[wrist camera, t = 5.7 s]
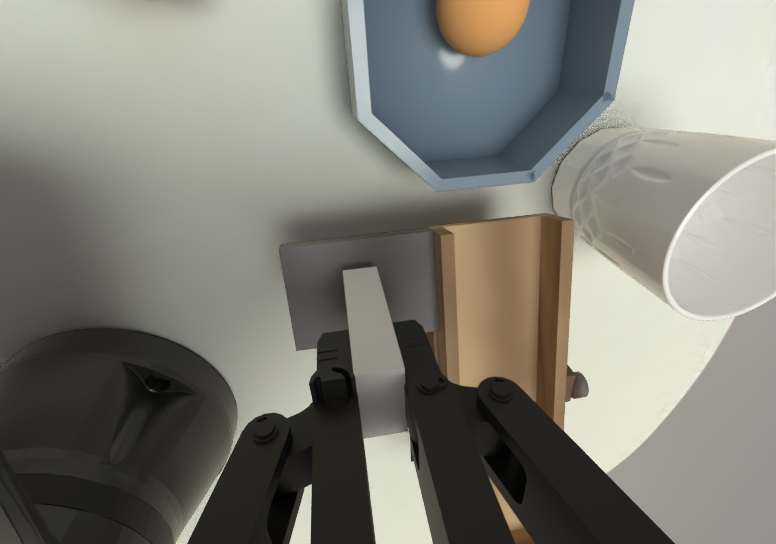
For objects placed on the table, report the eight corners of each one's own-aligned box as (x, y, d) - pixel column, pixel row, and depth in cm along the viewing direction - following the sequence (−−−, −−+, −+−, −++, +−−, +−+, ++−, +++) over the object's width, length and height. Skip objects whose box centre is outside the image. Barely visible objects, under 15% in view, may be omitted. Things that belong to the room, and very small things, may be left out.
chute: (337, 541, 26) (339, 620, 21) (287, 235, 20) (274, 256, 15) (522, 504, 27) (559, 571, 23) (527, 208, 21) (578, 220, 17)
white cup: (559, 258, 27) (674, 348, 18) (526, 158, 23) (651, 212, 14) (665, 202, 26) (839, 268, 17) (648, 89, 22) (859, 102, 14)
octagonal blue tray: (356, 177, 22) (364, 199, 18) (330, -104, 16) (333, -157, 12) (553, 158, 23) (598, 175, 20) (591, -108, 18) (666, -157, 14)
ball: (456, 21, 15) (443, -83, 15) (432, 76, 19) (422, -5, 19) (554, 16, 15) (541, -85, 15) (511, 71, 19) (501, -9, 19)
